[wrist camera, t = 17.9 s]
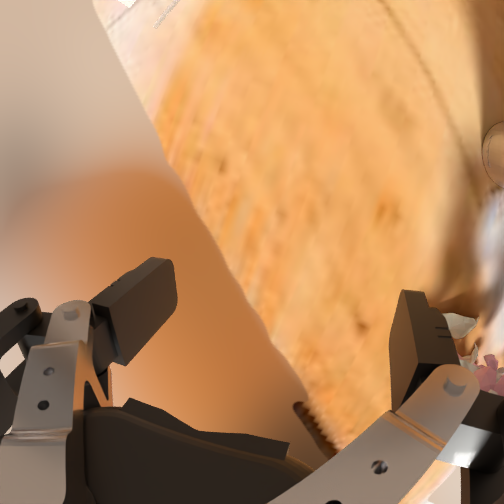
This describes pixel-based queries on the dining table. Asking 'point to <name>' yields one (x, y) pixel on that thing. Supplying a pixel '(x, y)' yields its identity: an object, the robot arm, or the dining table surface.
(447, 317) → the flower
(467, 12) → the dining table surface
